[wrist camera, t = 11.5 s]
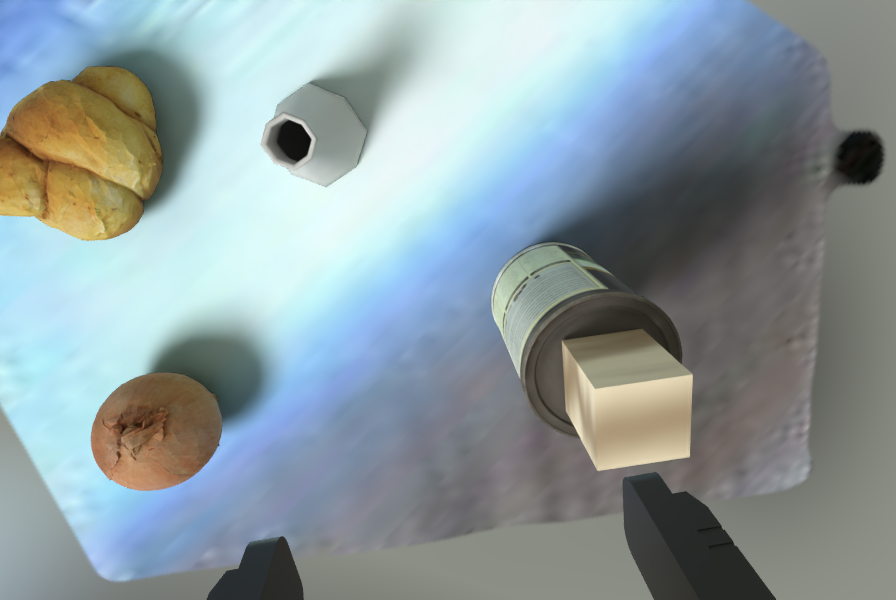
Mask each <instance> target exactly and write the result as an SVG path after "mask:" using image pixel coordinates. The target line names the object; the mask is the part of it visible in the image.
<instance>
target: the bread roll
mask: <svg viewBox="0 0 896 600" xmlns="http://www.w3.org/2000/svg"><path fill="white" fill-rule="evenodd" d="M156 130H157V126H156V116H155V110H154V105H153V102H152V98H151V94H150V92H149V90H148V88H147V86H146V85H145V84H144V83H143V82H142V81H141V80H140V79H139V78H138V77H137V76H136V75H134V74H133V73H132V72H130V71H128V70H126V69H123V68H121V67H115V66H105V67H103V66H95V67H86V69H85V70H84V71H82V72H81V73H80V74H79V75H78V76H76V77H75V78H74V79H73V81H70V80H60V81H56V82H55V81H50V82H48V83H46V84H44V85H42V86H41V87H39V88H38V89H36V90H35V91H33V92H32V93H30V94H29V95H28V96H26V97H25V98H23V99H22V100H21V101H20V102H18V103H17V104H16V105H15V106H14V107H13V109H12V110H11V112H10V114H9V116H8V118H7V123H6V125H5V127H4V128H3V130H2V132H1V135H0V215H4V216H29V217H31V216H35V217H36V218H37V219H39V220H40V221H42V222H43V223H45V224H46V225H48V226H50V227H53V228H57V229H59V230H61V231H63V232H65V233H67V234H69V235H71V236H74V237H76V238H79V239H82V240H87V241H90V240H106V239H111V238H114V237H117V236H119V235H121V234H124V233H126V232H128V231H129V230H131V229H132V228H133V227H134V226H135V225H136V224H137V223H138V222H139V220H140V218H141V216H142V215H143V212H144V208H143V202H145V201H147V200H148V199H149V198H150V197H151V195H152V194H153V192H154V191H155V189H156V187H157V185H158V183H159V180H160V176H161V173H162V172H163V167H162V166H163V155H162V152H161V146H160V143H159V141H158V137H157V135H156Z"/></svg>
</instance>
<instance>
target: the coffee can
mask: <svg viewBox="0 0 896 600" xmlns="http://www.w3.org/2000/svg"><path fill="white" fill-rule="evenodd" d="M491 305H492V312H493V316H494V319H495V322H496V324H497V326H498V327H499V329H500V331H501V333H502V336H503V338H504V341H505V343H506V346H507V348H508V351H509V353H510V356H511V358H512V360H513V363H514V365H515V368H516V370H517V372H518V375H519V377H520V380H521V384H522V388H523V392H524V395H525V398H526V400H527V402H528V404H529V406H530V408H531V409H532V411H533V412H534V413H535V415H536V416H537V417H538V418H539V419H540V420H541V421H542V422H543V423H545V424H546V425H547V426H549V427H550V428H552V429H553V430H555V431H557V432H559V433H561V434H564V435H567V436H570V437H574V438H579V439H581V438H580V436H579V435H578V433H577V431H576V429H575V427H574V425H573V423H572V421H571V419H570V418H569V416H568V414H567V412H566V404H565V387H564V370H563V353H562V340H569V339H575V338H582V337H589V336H596V335H603V334H610V333H616V332H623V331H630V330H637V329H643V330H644V331H645V332H646V333H647V334H648V335H650V336H651V337H652V338H653V339H654V340H655V341H656V342H657V343H658V344H660V345H661V346H662V347H663V348H664V349H665V350H666V351H667V352H668V353H669V354H671V355H672V356H673V357H674V358H675V359H676V360H677V361H678V362H679V363H681V364H682V347H681V341H680V338H679V335H678V332H677V330H676V328H675V326H674V324H673V322H672V321H671V319H670V318H669V317H668V316H667V315H666V314H665V312H664V311H662V310H661V309H660V308H659V307H658V306H657V305H655V304H654V303H652V302H651V301H649V300H648V299H646V298H644V297H642V296H640V295H639V294H637V293H636V292H635V291H633V290H632V289H631V288H629V287H628V286H627V285H625V284H624V283H623V282H621V281H620V280H619V279H617V278H616V277H615V276H614V275H612V274H611V273H610V272H608V271H607V270H606V269H604V268H603V267H602V266H600V265H599V264H598V263H596V262H595V261H594V260H593V259H592V258H591V257H590V256H589V255H588V254H586V253H585V252H584V251H582V250H580V249H578V248H576V247H574V246H572V245H568V244H564V243H557V242H547V243H541V244H537V245H534V246H531V247H528V248H526V249H524V250H522V251H521V252H519V253H518V254H516V255H515V256H514V257H512V258H511V259H510V260H509V261H508V262H507V263H506V264H505V266H504V267H503V268H502V270H501V271H500V273H499V274H498V276H497V278H496V281H495V284H494V287H493V291H492V297H491Z"/></svg>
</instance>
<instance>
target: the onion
mask: <svg viewBox="0 0 896 600" xmlns="http://www.w3.org/2000/svg"><path fill="white" fill-rule="evenodd" d="M217 402H218V398H217V396H216V395H215V394H214V393H211V392H209V391H208V390H207V389H206V388H205V387H204V386H203V385H202V384H201V383H199V382H198V381H196V380H194V379H192V378H190V377H188V376H186V375H182V374H178V373H151V374H146V375H142V376H139V377H136V378H134V379H132V380H130V381H128V382H126V383H124V384H122V385H121V386H120V387H118V388H117V389H116V390H115V391H114V392H113V393H112V394H111V395H110V396H109V397H108V398H107V399H106V401H105V402H104V403H103V404H102V406H101V407H100V409H99V411H98V413H97V415H96V418H95V420H94V423H93V426H92V432H91V447H92V451H93V455H94V458H95V461H96V463H97V465H98V466H99V467H100V469H101V470H102V471H103V473H104V474H105V475H106V476H107V477H108V479H109V480H113V481H115V482H116V483H118V484H120V485H122V486H124V487H127V488H130V489H134V490H140V491H151V490H160V489H165V488H169V487H172V486H175V485H178V484H180V483H182V482H184V481H186V480H188V479H189V478H191V477H193V476H194V475H195V474H196V473H197V472H199V471H200V470H201V469H202V467H203V466H204V465H205V464H207V463H208V461H209V460H210V459H211V457H212V456H213V454H214V452H215V451H216V449H217V447H218V446H219V441H220V438H221V433H222V416H221V413H220V410H219V406H218V404H217Z"/></svg>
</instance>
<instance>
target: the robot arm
mask: <svg viewBox="0 0 896 600" xmlns="http://www.w3.org/2000/svg"><path fill="white" fill-rule="evenodd" d="M623 509H624V529H625V535H626V539H627V543H628V546H629V549H630V551H631V554H632V556H633V558H634V560H635V562H636V564H637V566H638V568H639V570H640V572H641V574H642V576H643V578H644V580H645V582H646V584H647V586H648V588H649V590H650V592H651V594H652V596H653V598H654V600H776V598H775V597H774V596H773V595H772V593H771V592H770V591H769V589H768V588H767V587H766V585H765V584H764V582H763V581H762V580H761V579H760V577H759V576H758V574H757V573H756V572H755V570H754V569H753V568H752V566H751V565H750V564H749V562H748V561H747V559H745V557H744V555H743V554H742V553H741V552H740V550H739V549H738V547H737V546H735V545H734V543H733V541H732V539H731V538H730V537H729V535H728V534H727V533H726V531H725V530H723V529H722V527H721V525H720V523H719V522H718V520H717V519H716V518H715V516H714V515H713V514H712V512H711V511H710V510H709V508H708V507H707V506H706V505H704V504H703V503H702V502H700V501H699V500H697V499H696V498H694V497H693V496H692V495H690V494H689V493H687V492H686V491H685V492H679V493H674V494H672V493H671V491H670V490H669V488H668V487H667V485H666V484H665V482H664V481H663V479H662V478H661V477H660V475H659V474H658V473H656V472H653V473H647V474H642V475H636V476H630V477H625V478H624V479H623ZM207 600H304V598H303V587H302V582H301V579H300V576H299V574H298V571H297V568H296V565H295V562H294V560H293V557H292V554H291V551H290V548H289V546H288V543H287V540H286V539H285V538H284V537H283V536H281V537H276V538H270V539H264V540H258V541H253V542H250V543H249V544H248V545H247V547H246V549H245V552H244V555H243V558H242V560H241V563H240V566H239V568H238V569H234V570H229V571H226V573H225V574H224V575H223V576H222V578H221V579H220V580H219V581H218V583H217V584H216V585H215V587H214V588H213V589H212V590H211V591H210V593H209V595H208V598H207Z"/></svg>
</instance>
